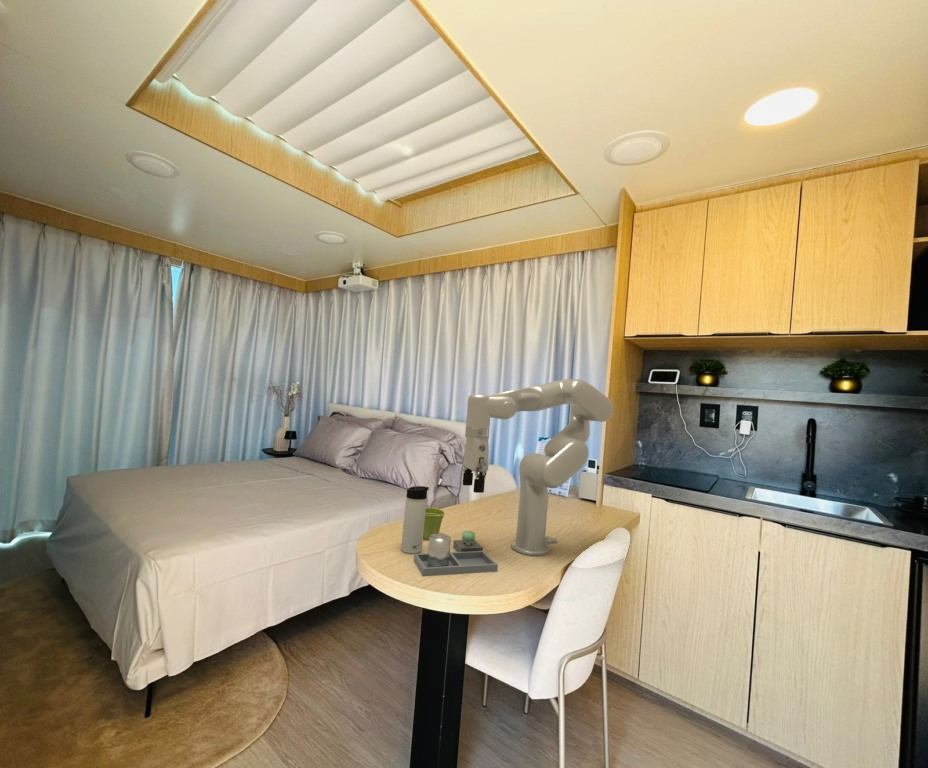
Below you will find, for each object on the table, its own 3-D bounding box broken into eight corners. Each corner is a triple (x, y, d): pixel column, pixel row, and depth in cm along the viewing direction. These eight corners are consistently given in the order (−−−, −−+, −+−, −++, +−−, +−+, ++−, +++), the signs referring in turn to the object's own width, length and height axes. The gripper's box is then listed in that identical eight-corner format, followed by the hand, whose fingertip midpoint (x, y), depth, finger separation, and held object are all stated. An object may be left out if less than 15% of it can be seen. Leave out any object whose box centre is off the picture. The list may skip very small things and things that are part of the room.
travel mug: (418, 558, 117) (425, 489, 118) (397, 554, 118) (404, 486, 119) (425, 551, 123) (431, 485, 124) (404, 547, 124) (411, 482, 125)
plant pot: (441, 543, 131) (444, 516, 131) (413, 540, 131) (415, 513, 132) (443, 534, 140) (445, 509, 141) (416, 531, 140) (419, 506, 141)
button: (471, 546, 127) (472, 530, 127) (475, 550, 123) (477, 535, 123) (459, 546, 125) (460, 531, 125) (463, 551, 121) (465, 535, 122)
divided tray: (482, 559, 120) (483, 550, 121) (497, 574, 111) (497, 564, 111) (413, 563, 113) (414, 553, 113) (422, 579, 104) (423, 568, 104)
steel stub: (444, 561, 114) (447, 533, 114) (451, 570, 108) (454, 540, 109) (424, 562, 112) (427, 533, 112) (430, 572, 106) (432, 541, 107)
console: (473, 549, 128) (474, 539, 129) (481, 557, 122) (482, 547, 122) (452, 549, 126) (453, 540, 126) (460, 558, 119) (461, 548, 120)
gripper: (499, 437, 119) (495, 495, 118) (477, 431, 135) (473, 482, 134) (476, 436, 116) (471, 495, 115) (456, 430, 132) (452, 482, 132)
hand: (472, 488), depth 125 cm, fingers open, 9 cm apart
